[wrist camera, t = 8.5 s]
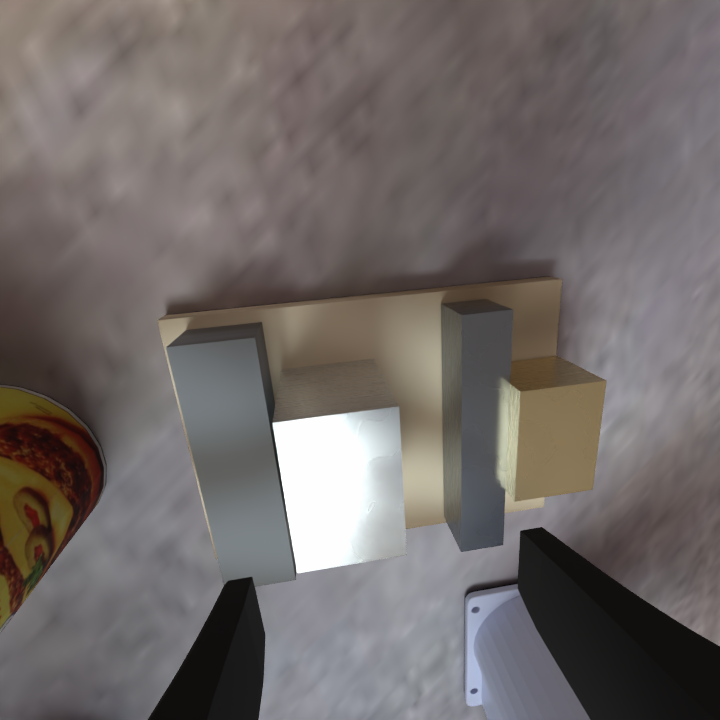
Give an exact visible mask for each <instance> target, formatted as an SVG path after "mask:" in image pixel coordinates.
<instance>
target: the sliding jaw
mask: <svg viewBox="0 0 720 720" xmlns="http://www.w3.org/2000/svg"><path fill="white" fill-rule="evenodd" d="M512 333H513V309H511V308H508V307H506V306H503V305H500V304H498V303H495V302H493V301H490V300H488V299H481V300H471V301H461V302H452V303H442V304H441V343H442V413H443V484H444V517H445V520H446V522H447V524H448V526H449V528H450V530H451V532H452V534H453V536H454V538H455V540H456V542H457V544H458V546H459V549H460V551H461V552H464V551H470V550H476V549H482V548H488V547H494V546H500V545H503V535H504V513H505V490H506V491H507V493H508V494H509V495H510V497H511V498H512V499H513V501H514V502H517V501H523V500H529V499H536V498H542V497H548V496H555V495H561V494H567V493H574V492H580V491H586V490H593V483H594V475H595V467H596V459H597V451H598V443H599V435H600V427H601V420H602V412H603V404H604V396H605V388H606V380H604V379H602V378H600V377H598V376H596V375H594V374H592V373H590V372H588V371H586V370H584V369H582V368H580V367H578V366H576V365H574V364H573V363H571V362H569V361H567V360H565V359H563V358H561V357H559V356H552V357H544V358H536V359H527V360H519V361H511V355H512Z"/></svg>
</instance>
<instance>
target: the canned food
mask: <svg viewBox="0 0 720 720" xmlns="http://www.w3.org/2000/svg"><path fill="white" fill-rule="evenodd" d="M105 483H106V464H105V460H104V457H103V454H102V450H101V447H100V445H99V443H98V442H97V440H96V438H95V437H94V435H93V434H92V432H91V431H90V429H89V428H88V426H87V425H86V424H84V423H83V422H82V421H81V420H80V419H79V418H78V417H77V416H76V415H75V414H74V413H73V412H72V411H71V410H69V409H68V408H66V407H64V406H63V405H61V404H59V403H58V402H56V401H54V400H53V399H51V398H49V397H47V396H45V395H42V394H39V393H36V392H33V391H30V390H27V389H24V388H21V387H14V386H7V385H0V633H1V632H2V630H3V629H4V628H5V626H6V625H7V624H8V622H9V621H10V620H11V618H12V617H13V616H14V614H15V613H16V612H17V610H18V609H19V608H20V606H21V605H22V604H23V602H24V601H25V600H26V598H27V597H28V596H29V594H30V593H31V592H32V590H33V589H34V588H35V586H36V585H37V584H38V582H39V581H40V580H41V578H42V577H43V576H44V574H45V573H46V572H47V570H48V569H49V568H50V566H51V565H52V564H53V562H54V561H55V560H56V558H57V557H58V556H59V554H60V553H61V552H62V550H63V549H64V548H65V546H66V545H67V544H68V542H69V541H70V540H71V539H72V537H73V536H74V535H75V533H76V532H77V531H78V529H79V528H80V527H81V525H82V524H83V523H84V521H85V520H86V519H87V517H88V516H89V515H90V513H91V512H92V511H93V509H94V508H95V507H96V505H97V504H98V503H99V500H100V497H101V495H102V492H103V490H104V487H105Z"/></svg>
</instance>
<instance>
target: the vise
mask: <svg viewBox="0 0 720 720" xmlns="http://www.w3.org/2000/svg"><path fill="white" fill-rule="evenodd" d="M561 290H562V279H560V278H555V277H550V276H549V277H539V278H529V279H519V280H509V281H499V282H489V283H479V284H469V285H459V286H450V287H440V288H430V289H420V290H410V291H400V292H390V293H380V294H370V295H360V296H351V297H341V298H331V299H321V300H311V301H301V302H291V303H281V304H271V305H261V306H252V307H242V308H232V309H222V310H212V311H202V312H192V313H182V314H172V315H165V316H163V317H162V318H160V319H159V320H157V321H158V325H159V330H160V334H161V338H162V342H163V346H164V350H165V354H166V358H167V362H168V366H169V370H170V374H171V378H172V382H173V387H174V391H175V395H176V399H177V403H178V407H179V411H180V415H181V419H182V423H183V427H184V431H185V435H186V439H187V443H188V448H189V452H190V456H191V460H192V464H193V468H194V472H195V476H196V480H197V484H198V488H199V492H200V496H201V500H202V504H203V509H204V513H205V517H206V521H207V525H208V529H209V533H210V537H211V541H212V545H213V549H214V553H215V557H216V559H218V563H219V567H220V571H221V575H222V579H223V583H224V585H225V584H226V583H227V581H229V580H235V579H241V578H247V577H253V582H254V586H255V587H256V586H262V585H268V584H274V583H280V582H286V581H292V580H296V562H295V556H294V550H293V544H292V538H291V532H290V526H289V520H288V514H287V508H286V502H285V496H284V490H283V484H282V478H281V472H280V466H279V460H278V454H277V448H276V442H275V436H274V430H273V424H272V422H273V416H274V410H275V404H276V398H277V392H278V386H279V379H280V373H281V369H288V368H296V367H305V366H314V365H322V364H331V363H339V362H348V361H356V360H365V359H373V358H374V360H375V362H376V364H377V366H378V367H379V369H380V371H381V373H382V375H383V377H384V379H385V381H386V383H387V384H388V386H389V388H390V390H391V392H392V394H393V396H394V398H395V400H396V401H397V403H398V405H399V413H400V433H401V452H402V471H403V490H404V509H405V528H406V529H409V528H415V527H422V526H428V525H434V524H440V523H447V522H446V520H445V517H444V484H443V413H442V343H441V304H442V303H452V302H461V301H471V300H481V299H488V300H490V301H493V302H495V303H498V304H500V305H503V306H506V307H508V308H511V309H513V333H512V355H511V361H519V360H527V359H536V358H544V357H552V356H556V351H557V338H558V326H559V314H560V302H561ZM540 507H544V497H542V498H536V499H529V500H523V501H517V502H514V501H513V499H512V498H511V497H510V495H509V494H508V493H507V491H506V490H505V513H509V512H515V511H521V510H528V509H534V508H540Z"/></svg>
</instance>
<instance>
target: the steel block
mask: <svg viewBox="0 0 720 720" xmlns="http://www.w3.org/2000/svg"><path fill="white" fill-rule="evenodd" d="M272 424H273V430H274V436H275V442H276V448H277V454H278V460H279V466H280V472H281V478H282V484H283V490H284V496H285V502H286V508H287V514H288V520H289V526H290V532H291V538H292V544H293V550H294V556H295V562H296V568H297V573H302V572H308V571H314V570H320V569H326V568H332V567H338V566H344V565H350V564H356V563H362V562H368V561H374V560H380V559H386V558H392V557H398V556H404V555H407V547H406V528H405V509H404V490H403V471H402V452H401V433H400V413H399V405H398V403H397V401H396V400H395V398H394V396H393V394H392V392H391V390H390V388H389V386H388V384H387V383H386V381H385V379H384V377H383V375H382V373H381V371H380V369H379V367H378V366H377V364H376V362H375V360H374V358H373V359H365V360H356V361H348V362H339V363H331V364H322V365H314V366H305V367H296V368H288V369H281V373H280V379H279V386H278V392H277V398H276V404H275V410H274V416H273V422H272Z"/></svg>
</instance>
